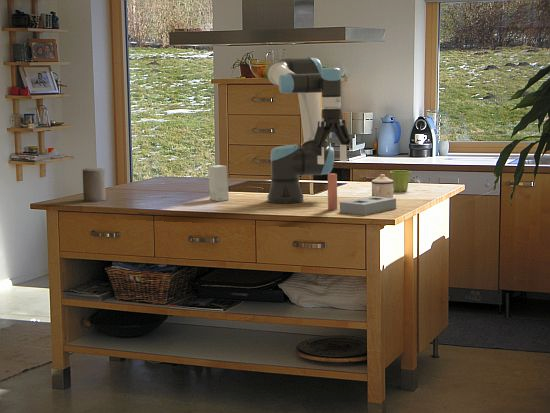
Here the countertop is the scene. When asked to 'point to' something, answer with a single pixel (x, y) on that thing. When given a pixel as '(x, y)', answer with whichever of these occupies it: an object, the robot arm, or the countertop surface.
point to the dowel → (332, 191)
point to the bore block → (367, 205)
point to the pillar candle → (94, 184)
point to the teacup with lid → (382, 187)
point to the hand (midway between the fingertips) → (332, 162)
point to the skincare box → (218, 183)
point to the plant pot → (400, 180)
